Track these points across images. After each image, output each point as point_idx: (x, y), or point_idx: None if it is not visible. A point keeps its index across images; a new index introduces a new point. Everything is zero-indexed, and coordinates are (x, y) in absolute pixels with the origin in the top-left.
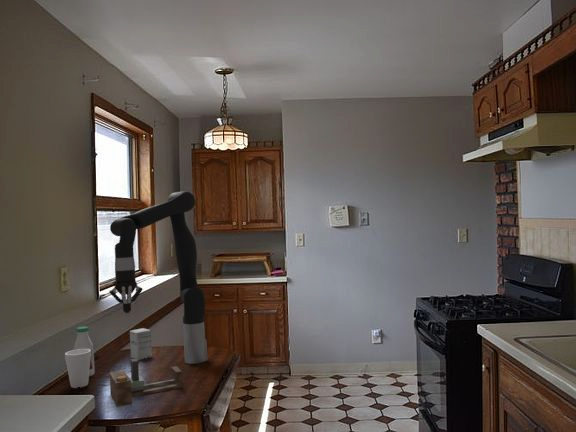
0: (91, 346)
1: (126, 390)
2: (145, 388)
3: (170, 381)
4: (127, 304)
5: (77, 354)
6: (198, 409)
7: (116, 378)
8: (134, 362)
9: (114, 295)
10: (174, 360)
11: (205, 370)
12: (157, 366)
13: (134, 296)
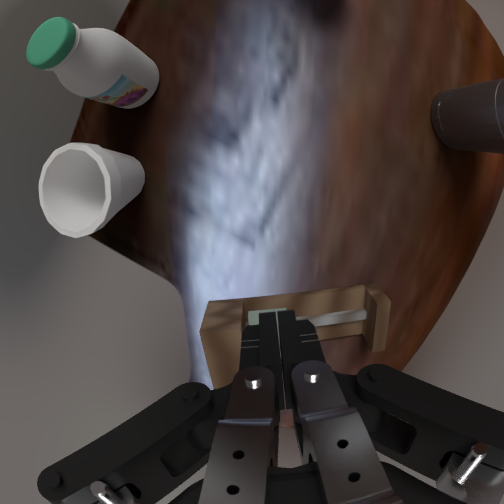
0: (116, 70)
1: None
2: None
3: (355, 320)
4: (287, 402)
5: (76, 234)
6: None
7: (221, 386)
8: None
9: (135, 494)
10: (406, 66)
11: (453, 224)
12: (356, 95)
13: (383, 451)
